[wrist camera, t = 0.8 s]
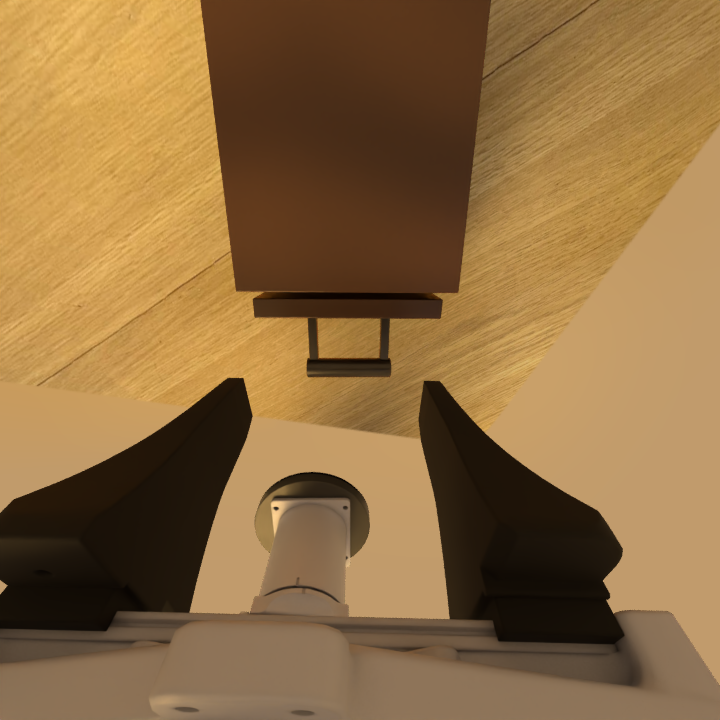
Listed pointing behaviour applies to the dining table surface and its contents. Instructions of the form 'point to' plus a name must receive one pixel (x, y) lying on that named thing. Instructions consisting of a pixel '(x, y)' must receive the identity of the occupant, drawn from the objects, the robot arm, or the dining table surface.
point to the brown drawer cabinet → (346, 139)
